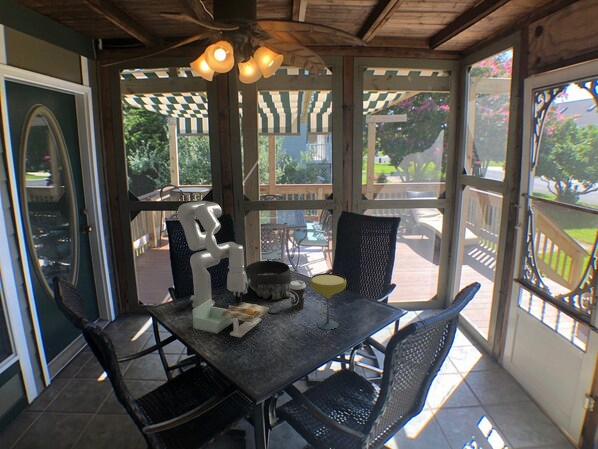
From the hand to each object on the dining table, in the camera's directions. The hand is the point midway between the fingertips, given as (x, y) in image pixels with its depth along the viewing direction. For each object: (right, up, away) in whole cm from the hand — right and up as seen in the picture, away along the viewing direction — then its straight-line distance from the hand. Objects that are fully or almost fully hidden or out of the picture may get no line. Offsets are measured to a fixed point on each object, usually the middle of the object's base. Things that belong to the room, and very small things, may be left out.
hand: (238, 302), depth 198 cm
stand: (+5, -12, -5) cm, 13 cm away
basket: (+12, -2, +43) cm, 45 cm away
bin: (-12, -11, -1) cm, 17 cm away
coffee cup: (+31, -7, +18) cm, 36 cm away
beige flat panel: (+5, -4, -6) cm, 9 cm away
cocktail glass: (+46, -11, -3) cm, 48 cm away
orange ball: (+8, -2, -13) cm, 15 cm away
